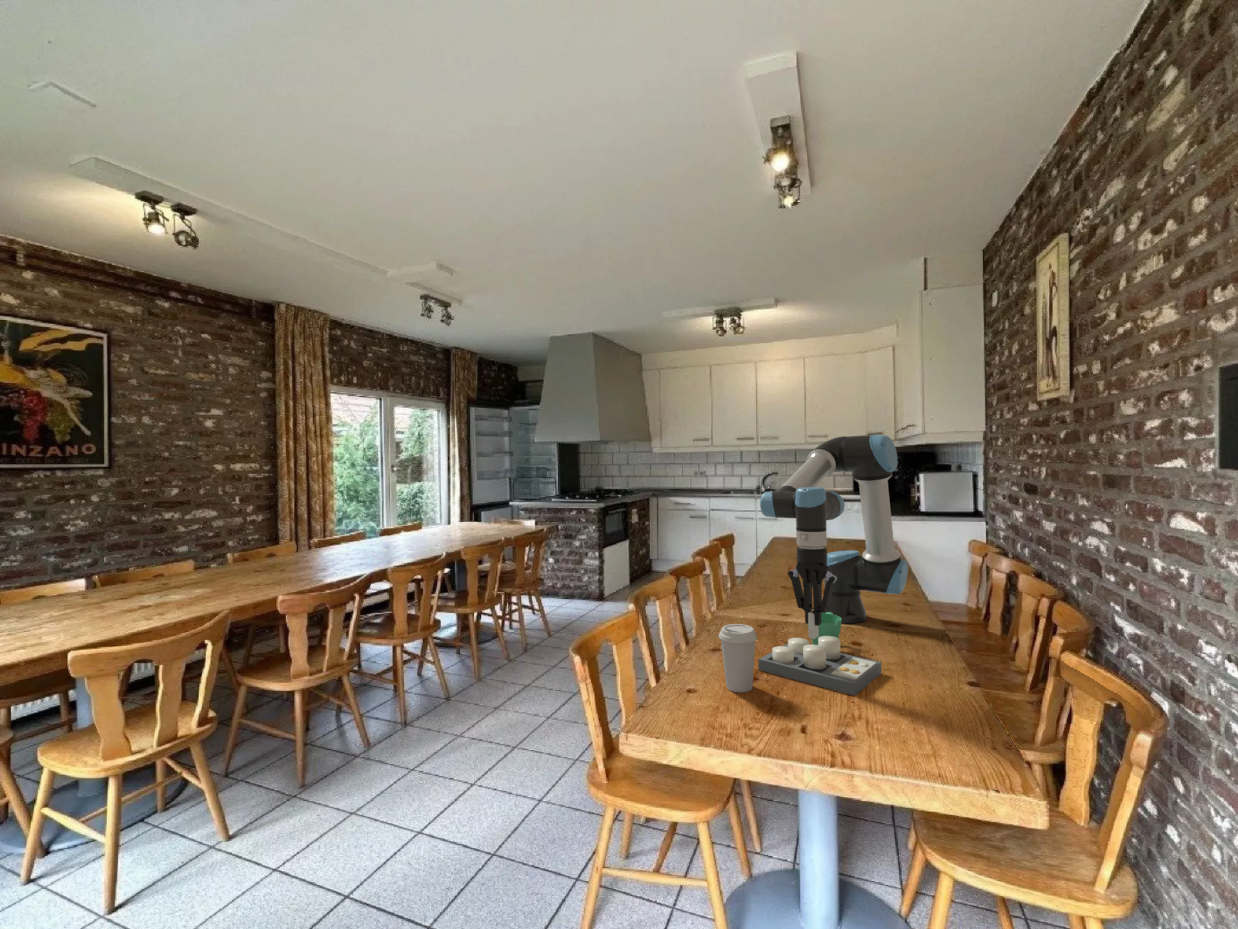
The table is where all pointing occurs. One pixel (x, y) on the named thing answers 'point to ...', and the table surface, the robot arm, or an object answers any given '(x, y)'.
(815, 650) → the button
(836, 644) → the button
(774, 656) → the button
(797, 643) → the button
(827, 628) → the mug
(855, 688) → the board
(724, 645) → the coffee cup
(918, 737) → the table surface
